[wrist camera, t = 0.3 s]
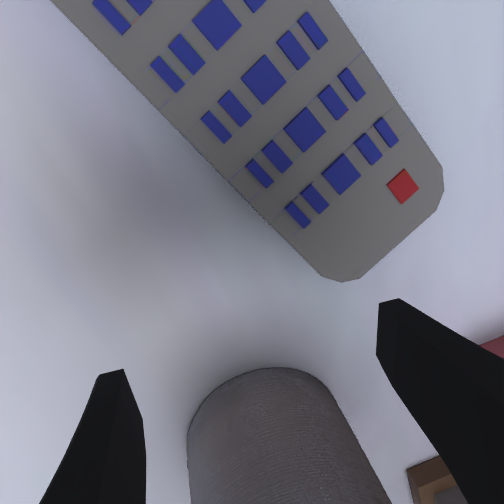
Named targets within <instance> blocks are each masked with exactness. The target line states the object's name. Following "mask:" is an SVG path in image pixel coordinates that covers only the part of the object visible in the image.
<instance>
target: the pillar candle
mask: <svg viewBox="0 0 504 504" xmlns="http://www.w3.org/2000/svg"><path fill="white" fill-rule="evenodd" d="M187 458H188V459H187V467H188V470H189V485H190V496H191V504H392V503H391V501H390V499H389V497H388V496H387V494H386V492H385V490H384V488H383V486H382V484H381V482H380V481H379V479H378V477H377V475H376V473H375V471H374V470H373V468H372V466H371V464H370V462H369V460H368V458H367V457H366V455H365V453H364V451H363V449H362V448H361V446H360V444H359V442H358V440H357V438H356V436H355V435H354V433H353V431H352V429H351V428H350V426H349V424H348V422H347V420H346V419H345V417H344V415H343V413H342V411H341V410H340V408H339V406H338V404H337V402H336V400H335V399H334V397H333V395H332V394H331V392H330V391H329V390H328V388H327V387H326V386H325V385H324V384H323V383H322V382H320V381H319V380H318V379H317V378H315V377H313V376H311V375H310V374H307V373H304V372H301V371H298V370H294V369H288V368H268V369H259V370H255V371H252V372H248V373H245V374H243V375H240V376H238V377H235V378H233V379H231V380H229V381H227V382H225V383H224V384H223V385H221V386H220V387H218V388H217V389H215V390H214V391H213V392H212V393H211V394H210V395H209V396H208V397H207V398H206V399H205V401H204V402H203V403H202V405H201V407H200V409H199V410H198V412H197V414H196V415H195V417H194V419H193V421H192V423H191V426H190V429H189V432H188V436H187Z"/></svg>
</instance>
